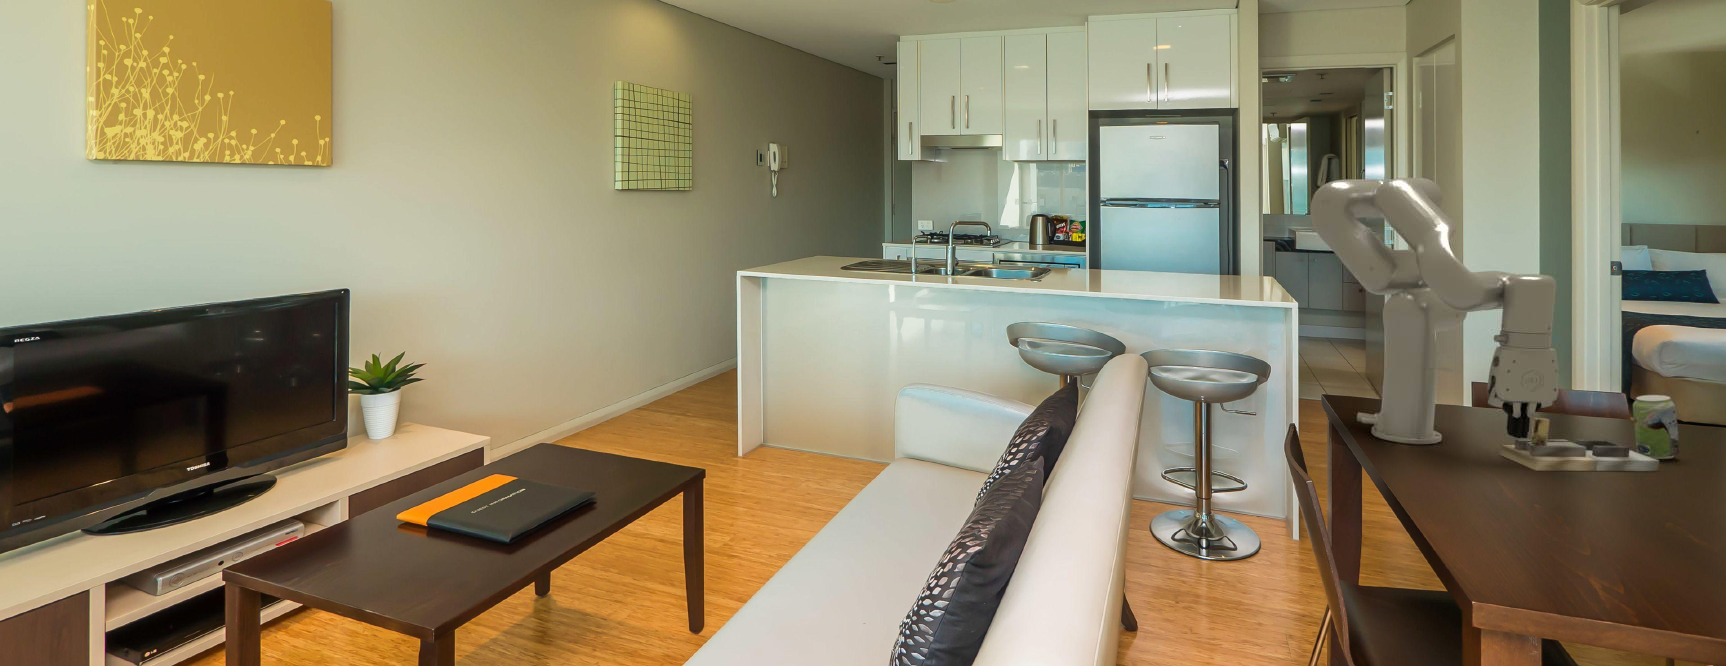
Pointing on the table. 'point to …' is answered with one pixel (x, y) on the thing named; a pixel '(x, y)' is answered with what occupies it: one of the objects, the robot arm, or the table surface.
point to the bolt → (1543, 435)
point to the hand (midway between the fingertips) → (1517, 436)
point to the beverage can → (1656, 426)
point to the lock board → (1579, 456)
